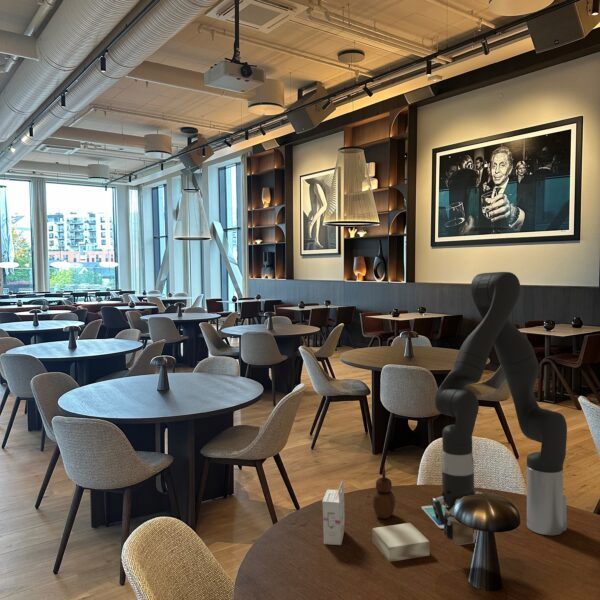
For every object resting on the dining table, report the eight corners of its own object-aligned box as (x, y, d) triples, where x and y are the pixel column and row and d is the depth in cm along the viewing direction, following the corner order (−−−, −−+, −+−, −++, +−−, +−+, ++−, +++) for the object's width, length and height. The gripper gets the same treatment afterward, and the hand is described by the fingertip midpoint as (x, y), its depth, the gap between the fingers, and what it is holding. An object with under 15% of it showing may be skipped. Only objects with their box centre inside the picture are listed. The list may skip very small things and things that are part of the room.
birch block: (410, 537, 149) (410, 522, 149) (429, 556, 138) (429, 541, 138) (372, 542, 146) (372, 528, 146) (389, 563, 136) (389, 547, 135)
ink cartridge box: (327, 529, 153) (326, 478, 153) (345, 531, 152) (344, 479, 152) (322, 544, 145) (321, 490, 144) (341, 546, 144) (340, 491, 143)
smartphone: (443, 504, 168) (465, 525, 153) (443, 507, 168) (465, 528, 153) (420, 506, 167) (439, 528, 152) (420, 509, 167) (439, 531, 152)
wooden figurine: (380, 509, 166) (379, 461, 165) (398, 514, 162) (397, 464, 162) (369, 517, 160) (369, 467, 160) (387, 522, 157) (386, 471, 156)
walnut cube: (463, 533, 138) (462, 514, 137) (473, 542, 133) (473, 523, 133) (445, 535, 137) (445, 517, 136) (455, 545, 132) (455, 525, 132)
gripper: (475, 460, 139) (477, 526, 140) (424, 467, 136) (425, 533, 137) (492, 470, 132) (493, 539, 133) (438, 477, 129) (439, 548, 129)
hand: (459, 536), depth 135 cm, fingers closed on walnut cube, 4 cm apart
